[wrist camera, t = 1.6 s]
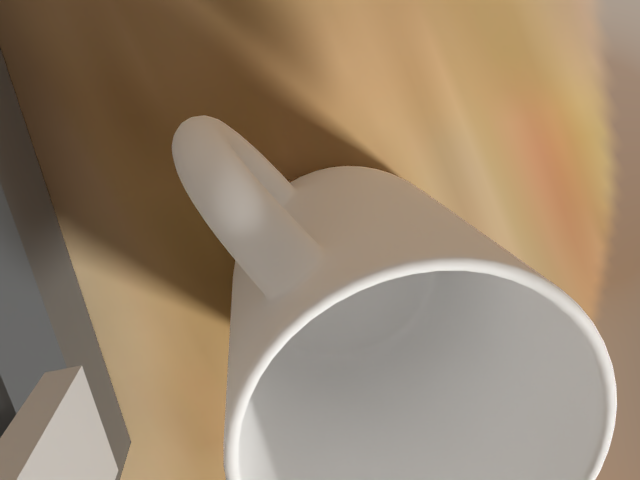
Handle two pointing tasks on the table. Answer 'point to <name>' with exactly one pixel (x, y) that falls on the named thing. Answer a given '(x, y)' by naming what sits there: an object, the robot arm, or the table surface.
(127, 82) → the table surface
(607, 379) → the mug
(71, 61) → the table surface
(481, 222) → the table surface
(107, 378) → the gray tray
